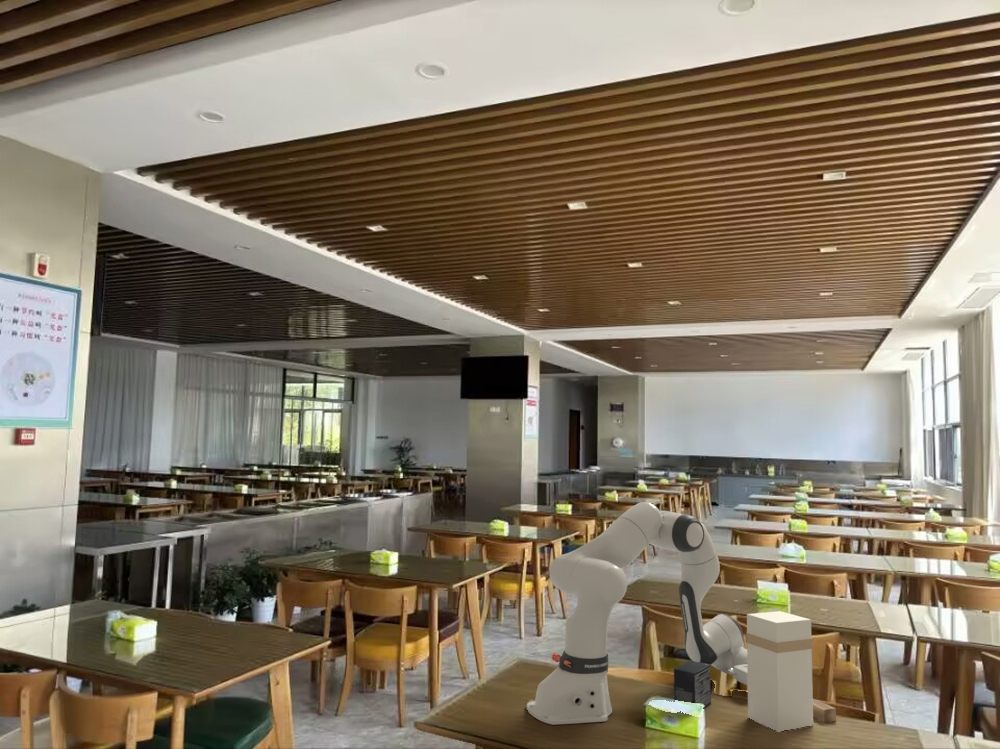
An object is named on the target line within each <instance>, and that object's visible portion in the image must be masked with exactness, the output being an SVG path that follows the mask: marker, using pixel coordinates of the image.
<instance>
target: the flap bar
mask: <svg viewBox="0 0 1000 749" xmlns="http://www.w3.org/2000/svg"><path fill="white" fill-rule="evenodd" d="M813 717H815V718H817V719H818V720H817V719H816V720H817V721H819V720H820V721H819V722H821V721H822V722H821V723H823V722H827V723H832V722H831V721H835V722H837V708H836V707H833V706H831V705H829V704H827V703H825V702H822V701H820V700H818V699H815V698H813ZM815 718H814V719H815Z"/></svg>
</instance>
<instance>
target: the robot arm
mask: <svg viewBox="0 0 1000 749" xmlns="http://www.w3.org/2000/svg"><path fill="white" fill-rule="evenodd" d="M649 546H650V547H651V546H654V547H656V548H660V549H663V550H665V551H666V550H667V551H675V552H677V555H678V559H679V562H680V566H681V580H680V583H679V586H678V596H679V598H678V599H679V604H680V611H681V616H682V617H681V618H682V624H683V631H684V649H685V652H686V654H687V656H688V658H689V659H690V661H695V662H700V663H705V664H710V666H712V667H714V668H716V670H719V671H720V672H722V673H725V674H727V675H730V676H733V678H734V680H735V681H737V682H739V683H741V684H743V685H745V686H748V671H747V648H745V639H744V632H743V629H742V626H741V624H740V623H739V622H738V620H736V619H735V618H733V617H731V615H728V614H725V613H719V614H717V615H716V616H714V617H713V618H711V619H710V620H708V621H707V622H706V623H704V624H703V619H702V613H701V611H702V610H701V606H702V602H703V600H704V598H705V596H706V594H707V593H708V592H709V590H710V589H711V588H712V586H713V585H714V584H715V583H716V581H717V580H718V579H719V578H718V577H719V575H720V573H721V572H720V570H721V566H720V560H719V557H718V554H717V551H716V550H717V549H716V546H715V544H714V542H713V539H712V537H711V535H710V533H709V532H708V530H707V528H706V526H705V524H704V523H702V522H701V521H700V520H699V519H698V518H696V517H695V516H693V515H690V514H683V513H679V512H673V511H670V510H659V508H658V507H657V506H655V504H653V503H652V502H651V503H650V502H648V501H640V502H637V503H636V504H635V505H633V506H631V507H630V508H629V509H627V510H626V511H624V512H623V513H622V514H621V515H620V516H619V517H617V518H616V519H615V521H613V522H612V523H611V524H610V525H609V526H608V527H607V528H606V529H605V530H604V531H602V532H601V533H600V534H599V535H598V536H597V537H595V538H594V539H592V540H590V541H588V542H586V543H585V544H583V545H582V546H580V547H578V548H576V549H574V550H572V551H570V552H567V553H564V554H560V555H558V556H556V557H555V558H554V559H553V560H552V562H551V564H550V567H549V574H548V575H549V578H550V579H549V580H550V581H551V583H552V585H553V586H554V587H555V588H557V589H558V590H559V591H561V592H563V593H564V594H566V595H569V596H573V597H575V598H577V603H576V608H575V610H574V613H573V614H572V615H570V616H569V617H567V619H566V622H565V624H564V625H565V626H564V627H565V628H564V629H565V631H564V650H563V653H562V654H561V655H560V654H559V653H557V652H552V654H551V658H550V659H551V660H552V662H553V661H554V662H555V663H558V667H557V668H555V669H554V670H553V671H552V672H551V673H550V674H548V676H546V677H545V678H544V679H543V680H541V682H540V683H538V685H537V688H536V693H535V699H534V700H533V701H529V702H527V703H526V711H527V710H528V711H527V712H528V713H529V714H530V716H532V717H534V718H536V719H537V720H539V721H540V722H542V723H545V724H549V725H569V724H570V725H571V724H584V723H585V724H586V723H600V722H607V721H608V719H609V716H610V715H611V714H612V712H613V707H612V704H611V700H610V693H609V685H608V684H609V683H608V670H609V655H608V652H607V651H608V650H607V648H608V647H607V645H608V626H609V620H610V617H611V614H612V611H613V609H614V608H615V606H616V605H617V604H618V603H619V602H620V601H621V600H622V599H623V598H624V597H625V594H626V592H627V591H628V590H627V589H628V579H627V575H626V573H625V572H624V570H623V569H624V568H626V567H628V566H630V565H631V564H632V563H633V561H634V560H636V559H637V557H639V556H640V555H641V554H642V552H643V551H644V550H645V549H646V548H647V547H649Z"/></svg>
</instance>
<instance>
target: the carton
mask: <svg viewBox="0 0 1000 749" xmlns="http://www.w3.org/2000/svg"><path fill="white" fill-rule="evenodd" d="M745 638H746V639H745V642H746V649H747V671H748V685H747V718H748V719H749V718H750V720H751V719H752V720H751V721H753V720H754V721H753V722H755V723H757V724H760V725H762V726H765V727H766V728H768V727H769V728H768V729H770V728H771V730H772V729H773V731H774V730H776V731H778V732H777V733H780V732H779V731H784V730H789V731H791V730H790V729H794V730H797V729H796V728H799V729H801V728H800V727H805V726H810V727H813V726H814V718H813V699H814V696H813V693H814V692H813V691H814V689H813V688H814V686H813V647H814V646H813V638H812V619H810V618H806V617H804V616H803V617H802V616H799V615H796V614H792V613H789V612H785V611H781V610H778V611H766V612H758V613H757V612H756V613H755V612H754V613H746V633H745ZM812 725H813V726H812ZM805 728H806V727H805ZM776 731H775V732H776ZM784 732H785V731H784Z"/></svg>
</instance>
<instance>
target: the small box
mask: <svg viewBox="0 0 1000 749" xmlns="http://www.w3.org/2000/svg"><path fill="white" fill-rule="evenodd" d="M674 700H678V701H684V702H691V703H703V704H704V705H705V708H707V707H708V706H711V704H712V694H711V665H710V664H705V663H700V662H695V661H692V660H688V661H686V662H684V663H682V664H680V665H678V666H676V667H674V668H673V701H674Z"/></svg>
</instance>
